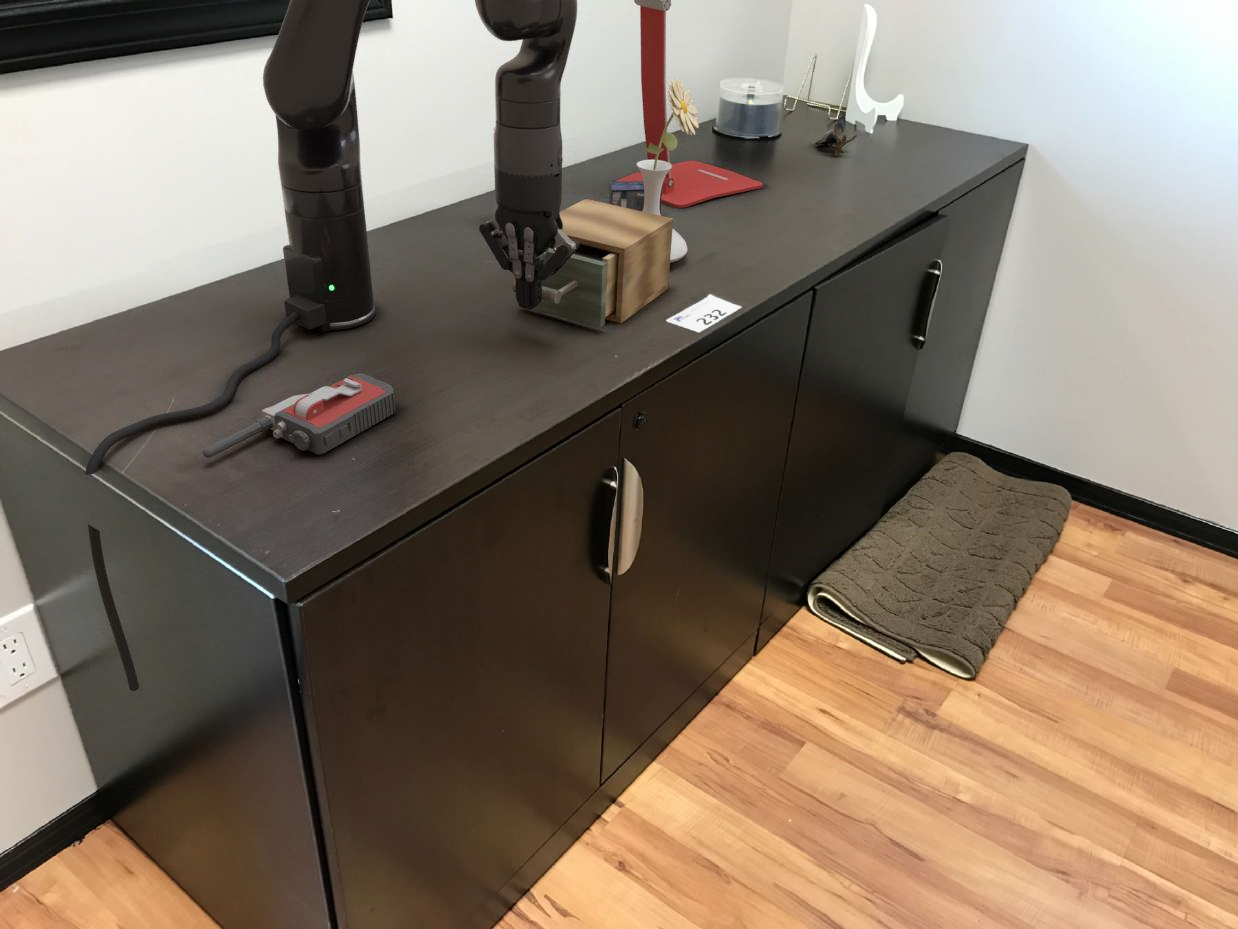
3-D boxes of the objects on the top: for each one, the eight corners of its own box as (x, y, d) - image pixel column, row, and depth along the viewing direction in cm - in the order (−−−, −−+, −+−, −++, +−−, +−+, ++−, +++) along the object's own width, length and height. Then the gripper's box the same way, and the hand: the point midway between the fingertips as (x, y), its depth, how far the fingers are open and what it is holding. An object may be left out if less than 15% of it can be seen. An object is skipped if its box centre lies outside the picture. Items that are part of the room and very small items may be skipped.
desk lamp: (804, 175, 187) (839, -67, 165) (658, 217, 164) (677, -57, 142) (732, 152, 197) (756, -78, 176) (586, 188, 175) (592, -71, 153)
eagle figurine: (864, 151, 198) (852, 130, 205) (851, 122, 194) (839, 102, 200) (828, 170, 200) (817, 149, 207) (815, 142, 196) (804, 121, 202)
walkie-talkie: (349, 385, 112) (199, 462, 98) (345, 349, 110) (190, 423, 95) (408, 408, 108) (260, 493, 94) (405, 372, 106) (253, 453, 92)
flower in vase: (652, 278, 142) (664, 95, 128) (593, 256, 148) (600, 79, 135) (709, 256, 150) (726, 82, 137) (651, 235, 156) (662, 67, 143)
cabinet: (620, 323, 129) (624, 248, 124) (532, 298, 134) (531, 226, 129) (668, 288, 139) (673, 218, 134) (583, 267, 144) (585, 198, 139)
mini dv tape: (610, 221, 161) (611, 184, 158) (608, 218, 162) (610, 181, 159) (659, 219, 163) (662, 183, 159) (657, 216, 164) (660, 180, 161)
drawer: (576, 345, 121) (578, 280, 117) (492, 320, 126) (490, 257, 121) (646, 294, 135) (650, 235, 130) (567, 274, 140) (568, 216, 135)
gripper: (459, 159, 111) (465, 304, 120) (560, 182, 106) (558, 331, 115) (498, 144, 117) (501, 284, 126) (596, 165, 111) (592, 309, 121)
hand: (529, 306), depth 121 cm, fingers closed
